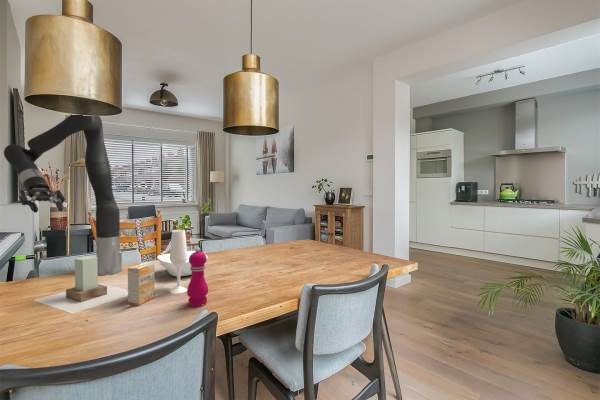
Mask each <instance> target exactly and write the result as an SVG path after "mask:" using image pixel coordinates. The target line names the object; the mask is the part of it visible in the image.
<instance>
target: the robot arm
mask: <svg viewBox="0 0 600 400" xmlns="http://www.w3.org/2000/svg"><path fill="white" fill-rule="evenodd" d="M72 114H73V113H71V114H70V115H69V116H68V117H66V118H65V119H64V120H61V122H59V123H57V124H56V125H54V126H53V127H52V128H50V129H48V130H46V131H43V132H42V133H40V134H38V135H35V136H34V137H32V138H30V139H29V140H28V141H27V146H28V148H29V149H27V148H25V147H23V146H22V145H18V144H15V143H11V144H8V145H6V146H5V147H4V150H3V155H4V158H5V159H6V161H7V162H8V163H9V164H10V165H11V167H12V168H13V169H15V171H16V173H17V175H18V177H19V179H20V182H21V184H22V187H24V189H25V190H23V189H21V190H20V191H19V193H18V198H19V200H20V203H21V205H22V206H28V207H29V208H30V211H31V212H33V213H38V211H39V208H38V206H37V204H36V201H37V202H49V203H52V204H54V205H55V207H56V209H57V210H58V212H62V211H63V209H64V203H65V201H66V198H65V197H64V195H63V194H62V192H61V190H59V189H57V190H56V191H52V190H51V189H50V186H49V184H48V182H47V180H46V179H45V176H44V174H42V172H41V171H40V168H39V167H38V166H37V164H36V163H35V162H36V161H38V159H40V157H41V156H42V155H43V154H44V153H46V152H49V151H50V150H52V149H54V148H56V147H57V146H59V145H60V144H61V143H63V142H64V140H65V139H67V138H68V137H70V136H71V135H74V134H76V133H79V132H82V131H83V134H84V137H85V143H86V148H85V155H84V164H85V169H86V173H87V177H88V181H89V183H90V185H91V188H92V190H93V193H94V197H95V198H94V199H95V208H96V209H95V210H96V211H95V241H96V242H95V244H96V247H95V248H96V257H97V261H98V276H109V275H114V274H118V273H119V272H122V270H123V269H122V268H123V266H122V264H123V262H122V261H123V258H122V256H123V255H122V251H121V249H120V243H121V242H120V224H121V223H120V221H121V220H120V219H121V217H120V209H119V206H118V205H117V202H116V199H115V197H114V193H113V183H112V181H113V180H112V173H111V172H112V171H111V165H110V161H109V158H108V157H109V156H108V153H107V149H106V144H105V139H104V130H103V129H104V128H103V120H102V119H101V116H100V115H99V116H83V115H72ZM27 197H29V198H31V199H30V200H28V198H27Z"/></svg>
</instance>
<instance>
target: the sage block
mask: <svg viewBox="0 0 600 400" xmlns="http://www.w3.org/2000/svg"><path fill="white" fill-rule="evenodd" d="M98 279H99V275H98V261H97V256H92V255H87V256H80V257H76V258H74V287H75V289H77V290H81V291H86V290H89V289H93V288H97V287H98V283H99V280H98Z"/></svg>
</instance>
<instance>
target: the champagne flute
mask: <svg viewBox="0 0 600 400" xmlns="http://www.w3.org/2000/svg"><path fill="white" fill-rule="evenodd" d="M170 239H171V240H170V249H169V253H170V258H169V259H170V261H171V263H172V264H174V265H175V266H177V277H176V286H175V287H173V288H172V289H170V290H169V293H170V294H172V295H175V294H176V295H177V294H184V293H187V289H188V288H186V287H184V286H181V276H180V266H182V265H183V264H184V263H185V262H186V260H187V258H188V256H187V251H188V248H187V247H188V246H187V237H186V230H185V229H173V230H172V231H171V238H170Z"/></svg>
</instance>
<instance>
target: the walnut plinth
mask: <svg viewBox="0 0 600 400" xmlns="http://www.w3.org/2000/svg"><path fill="white" fill-rule="evenodd" d="M65 291H66V298H68V299H71V300H74V301H78V302H84V301H87V300H90V299H94V298H97V297H100V296H103V295H107V286H103V285H100V284H98V287H97V288H93V289H89V290H86V291H81V290H77V289H75V286H74V287H70V288H66V289H65Z"/></svg>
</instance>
